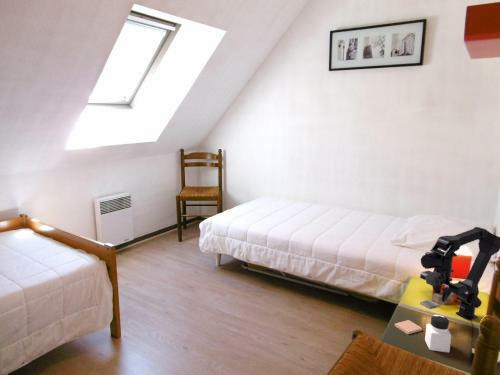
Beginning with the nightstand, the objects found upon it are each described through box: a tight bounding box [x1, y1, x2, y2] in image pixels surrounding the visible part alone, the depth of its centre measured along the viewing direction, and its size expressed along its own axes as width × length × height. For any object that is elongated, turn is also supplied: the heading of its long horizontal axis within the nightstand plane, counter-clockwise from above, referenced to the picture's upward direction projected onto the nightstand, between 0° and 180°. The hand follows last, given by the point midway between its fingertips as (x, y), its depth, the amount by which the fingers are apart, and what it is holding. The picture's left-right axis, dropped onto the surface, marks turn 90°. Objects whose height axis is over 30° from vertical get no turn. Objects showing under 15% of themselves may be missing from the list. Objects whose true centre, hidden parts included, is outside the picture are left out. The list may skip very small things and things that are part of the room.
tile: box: [394, 319, 423, 335], centre depth 155 cm, size 2×7×8 cm
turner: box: [419, 291, 455, 310], centre depth 160 cm, size 16×5×4 cm, turn 114°
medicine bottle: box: [424, 314, 453, 353], centre depth 141 cm, size 7×7×12 cm
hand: (440, 300), depth 160 cm, fingers closed on turner, 3 cm apart
